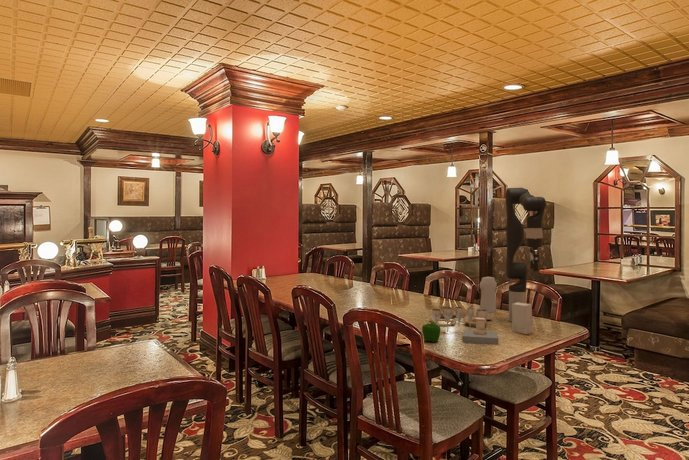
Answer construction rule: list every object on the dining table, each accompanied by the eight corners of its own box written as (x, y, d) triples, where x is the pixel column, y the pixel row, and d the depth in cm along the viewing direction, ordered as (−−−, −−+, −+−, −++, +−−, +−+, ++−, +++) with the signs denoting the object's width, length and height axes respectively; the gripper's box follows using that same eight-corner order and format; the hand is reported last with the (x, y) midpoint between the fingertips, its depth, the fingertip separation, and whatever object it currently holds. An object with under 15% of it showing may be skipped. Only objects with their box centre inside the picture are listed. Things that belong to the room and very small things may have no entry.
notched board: (463, 335, 228) (463, 329, 228) (496, 337, 224) (496, 331, 223) (463, 342, 216) (463, 336, 216) (498, 344, 212) (498, 338, 212)
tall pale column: (480, 312, 278) (480, 277, 277) (478, 311, 282) (478, 276, 281) (497, 312, 278) (497, 276, 277) (495, 311, 282) (495, 276, 281)
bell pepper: (419, 339, 222) (419, 319, 222) (434, 338, 225) (434, 318, 224) (427, 344, 214) (427, 323, 214) (443, 342, 216) (442, 322, 216)
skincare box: (533, 333, 231) (533, 304, 230) (525, 335, 227) (525, 305, 227) (518, 329, 238) (518, 301, 237) (511, 331, 234) (511, 303, 234)
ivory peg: (476, 337, 224) (475, 317, 224) (484, 337, 223) (484, 317, 223) (476, 339, 221) (476, 319, 220) (484, 340, 219) (484, 319, 219)
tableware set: (427, 326, 249) (427, 319, 249) (431, 314, 277) (431, 308, 277) (494, 330, 239) (494, 322, 239) (491, 317, 268) (491, 310, 267)
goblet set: (432, 334, 232) (432, 308, 232) (431, 331, 238) (431, 306, 237) (488, 335, 229) (488, 309, 228) (486, 332, 234) (486, 306, 234)
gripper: (524, 236, 231) (524, 268, 232) (527, 238, 218) (527, 271, 218) (540, 236, 229) (540, 268, 230) (544, 238, 216) (544, 271, 216)
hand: (534, 269), depth 224 cm, fingers open, 8 cm apart
